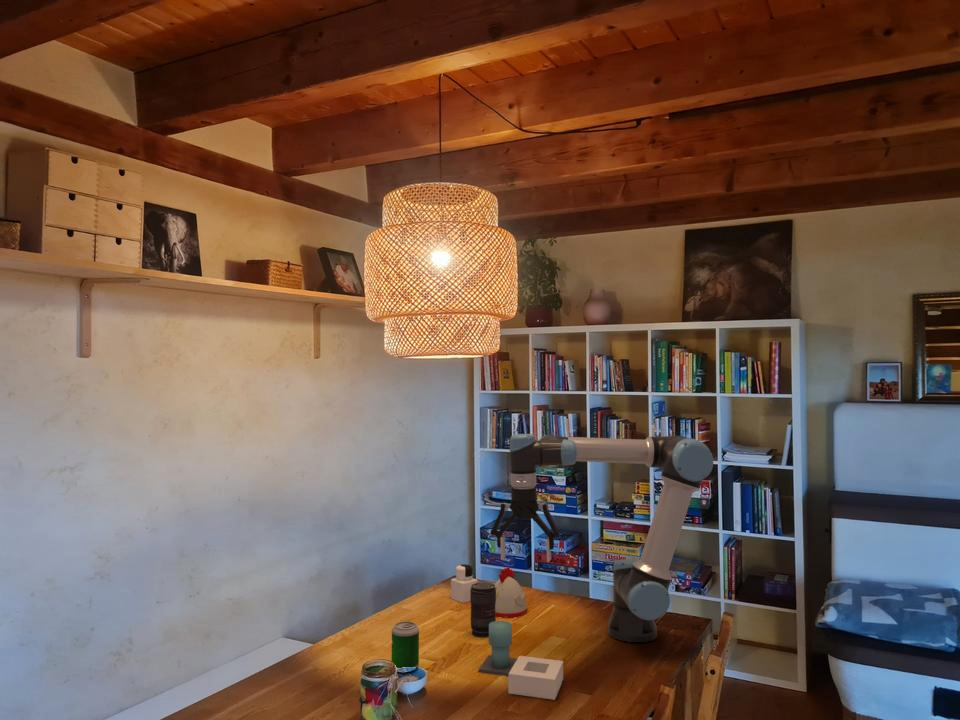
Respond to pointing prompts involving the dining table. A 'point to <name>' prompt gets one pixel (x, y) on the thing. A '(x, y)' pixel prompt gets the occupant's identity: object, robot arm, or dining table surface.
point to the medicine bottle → (462, 583)
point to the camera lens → (482, 607)
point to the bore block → (536, 677)
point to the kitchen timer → (509, 596)
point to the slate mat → (488, 668)
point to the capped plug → (500, 643)
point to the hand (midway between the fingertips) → (525, 559)
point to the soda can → (405, 645)
